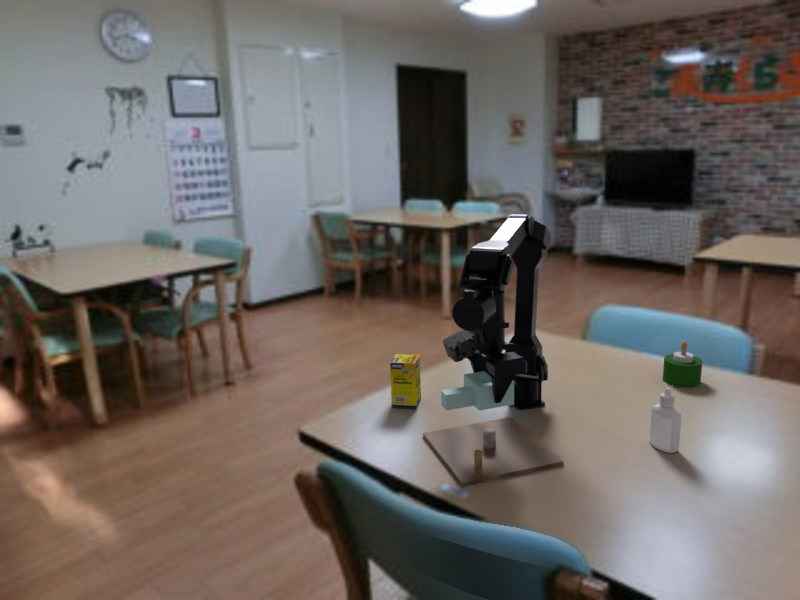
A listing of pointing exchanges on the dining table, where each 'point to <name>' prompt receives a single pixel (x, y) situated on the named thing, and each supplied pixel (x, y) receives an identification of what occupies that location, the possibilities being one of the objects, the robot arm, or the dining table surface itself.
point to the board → (490, 451)
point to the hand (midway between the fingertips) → (489, 395)
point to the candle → (682, 369)
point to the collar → (475, 393)
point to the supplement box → (405, 381)
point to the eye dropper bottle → (665, 424)
